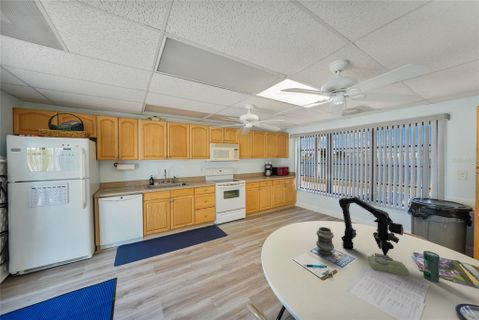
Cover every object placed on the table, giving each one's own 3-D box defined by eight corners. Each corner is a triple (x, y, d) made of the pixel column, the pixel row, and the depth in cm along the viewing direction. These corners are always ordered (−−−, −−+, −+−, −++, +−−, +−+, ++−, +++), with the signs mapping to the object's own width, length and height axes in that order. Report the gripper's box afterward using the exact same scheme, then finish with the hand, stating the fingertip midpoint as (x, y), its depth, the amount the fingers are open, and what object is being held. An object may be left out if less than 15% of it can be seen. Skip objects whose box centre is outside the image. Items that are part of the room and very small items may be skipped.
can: (422, 273, 105) (422, 249, 105) (437, 278, 101) (437, 253, 101) (424, 279, 100) (424, 254, 100) (440, 284, 96) (440, 257, 96)
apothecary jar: (315, 254, 127) (315, 230, 127) (316, 246, 138) (316, 224, 138) (334, 258, 121) (334, 233, 121) (333, 250, 132) (333, 227, 132)
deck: (372, 268, 111) (372, 261, 110) (365, 256, 124) (365, 250, 124) (408, 275, 103) (408, 268, 103) (397, 262, 117) (397, 256, 117)
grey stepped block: (377, 261, 118) (377, 255, 118) (374, 257, 123) (374, 251, 122) (389, 264, 115) (389, 257, 115) (387, 260, 120) (387, 253, 120)
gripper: (404, 237, 106) (404, 262, 107) (391, 226, 123) (391, 247, 124) (382, 234, 111) (381, 258, 111) (372, 224, 128) (372, 244, 128)
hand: (382, 252), depth 118 cm, fingers open, 9 cm apart
